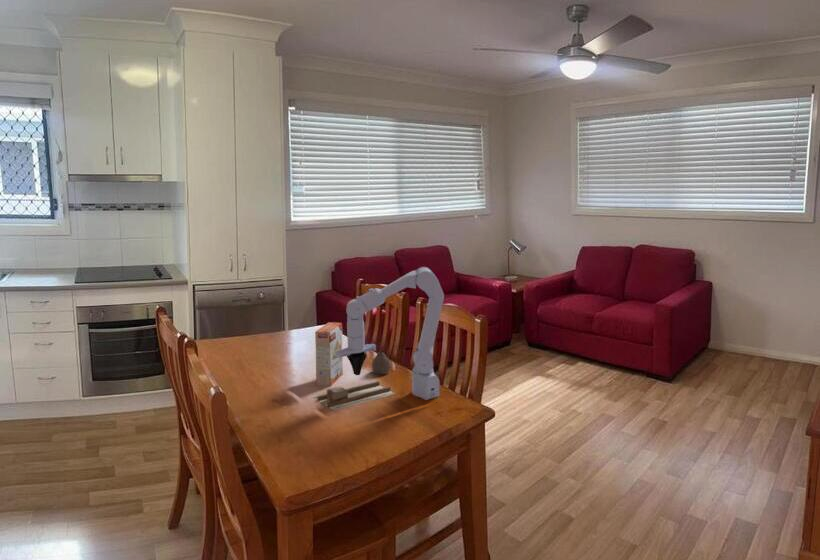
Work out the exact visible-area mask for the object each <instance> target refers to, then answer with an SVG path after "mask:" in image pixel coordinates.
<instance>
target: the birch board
mask: <svg viewBox="0 0 820 560" xmlns="http://www.w3.org/2000/svg"><path fill="white" fill-rule="evenodd" d="M345 389H346V390H348V398H344V399H341V400H337V401H333V402H331V401H329V400H328V399H327V393H324V394H320V395H317V396H314V397H313V399H315V400H317V401H319V402H320V403H321V404H323V405H324V406H325V407H327V408H329V409H330V410H332V411H338V410H342V409H345V408H349V407H353V406H356V405H360V404H363V403H366V402H370V401H374V400H377V399H378V400H379V399H382V398H385V397H389V396H394V395H396V393H395V392H394V391H391V387H390V386H387V387H383V386H382V385H380V381H372V382H369V383H363V384H360V385H356V386H352V387H348V388H345Z"/></svg>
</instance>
